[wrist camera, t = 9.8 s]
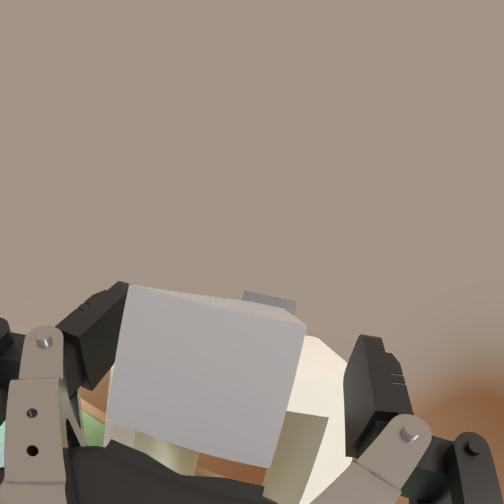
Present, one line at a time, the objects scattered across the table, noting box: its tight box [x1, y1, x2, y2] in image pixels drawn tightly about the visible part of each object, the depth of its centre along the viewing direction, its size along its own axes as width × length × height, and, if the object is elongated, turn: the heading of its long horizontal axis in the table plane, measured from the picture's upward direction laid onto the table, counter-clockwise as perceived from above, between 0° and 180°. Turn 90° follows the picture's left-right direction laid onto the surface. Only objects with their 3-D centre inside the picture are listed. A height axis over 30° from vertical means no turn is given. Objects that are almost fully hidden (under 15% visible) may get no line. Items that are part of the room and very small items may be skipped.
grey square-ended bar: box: [108, 284, 307, 468], centre depth 23 cm, size 36×6×4 cm, turn 175°
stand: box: [103, 336, 353, 504], centre depth 26 cm, size 26×14×32 cm, turn 175°
